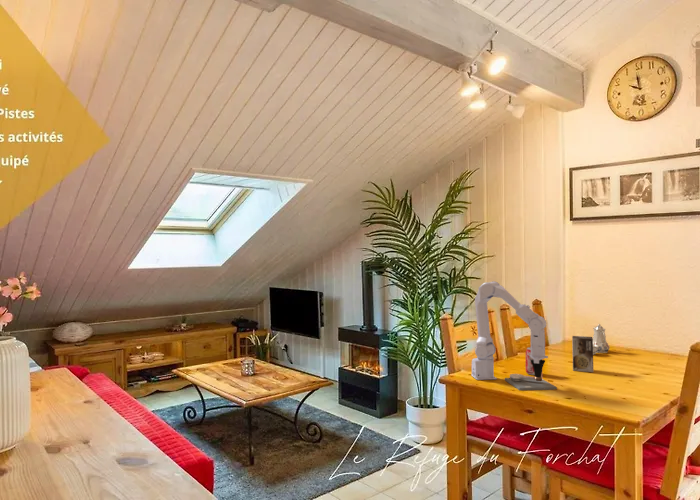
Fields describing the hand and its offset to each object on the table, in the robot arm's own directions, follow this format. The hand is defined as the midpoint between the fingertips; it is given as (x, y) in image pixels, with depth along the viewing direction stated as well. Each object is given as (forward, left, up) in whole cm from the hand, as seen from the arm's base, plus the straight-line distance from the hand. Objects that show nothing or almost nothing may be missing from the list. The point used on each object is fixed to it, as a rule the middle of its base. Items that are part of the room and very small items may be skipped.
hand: (538, 377), depth 206 cm
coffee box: (+34, +26, -4) cm, 43 cm away
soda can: (+8, +21, -4) cm, 22 cm away
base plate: (-3, +3, -4) cm, 5 cm away
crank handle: (-3, +5, -2) cm, 6 cm away
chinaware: (+65, +68, -4) cm, 94 cm away
